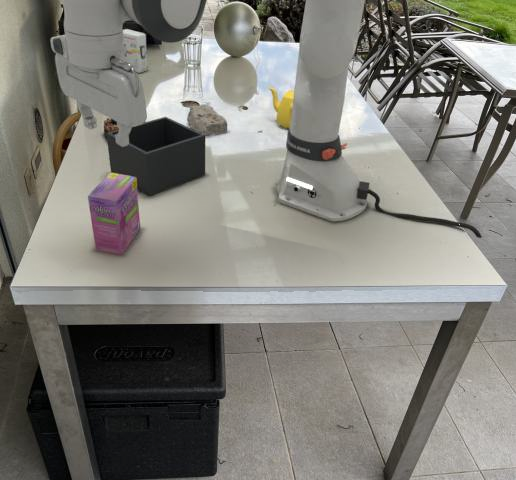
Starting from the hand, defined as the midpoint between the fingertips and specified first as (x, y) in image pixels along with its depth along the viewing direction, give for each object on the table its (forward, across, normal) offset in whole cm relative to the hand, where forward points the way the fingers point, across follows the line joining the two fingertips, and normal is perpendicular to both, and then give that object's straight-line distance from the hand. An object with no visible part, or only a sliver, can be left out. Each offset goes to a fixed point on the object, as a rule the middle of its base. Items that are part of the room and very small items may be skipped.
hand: (106, 136), depth 94 cm
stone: (+21, +33, -55) cm, 67 cm away
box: (+21, 0, 0) cm, 21 cm away
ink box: (+22, +88, -71) cm, 115 cm away
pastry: (+21, +41, -33) cm, 57 cm away
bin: (+21, +18, -25) cm, 37 cm away
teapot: (+21, +19, -78) cm, 83 cm away
